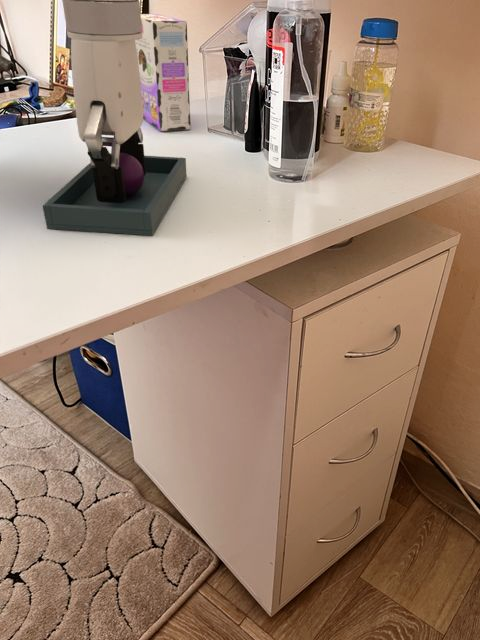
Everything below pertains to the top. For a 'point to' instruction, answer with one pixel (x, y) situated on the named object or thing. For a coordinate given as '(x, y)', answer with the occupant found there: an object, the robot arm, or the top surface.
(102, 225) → the tray
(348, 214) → the top surface
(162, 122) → the candy box
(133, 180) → the grape
